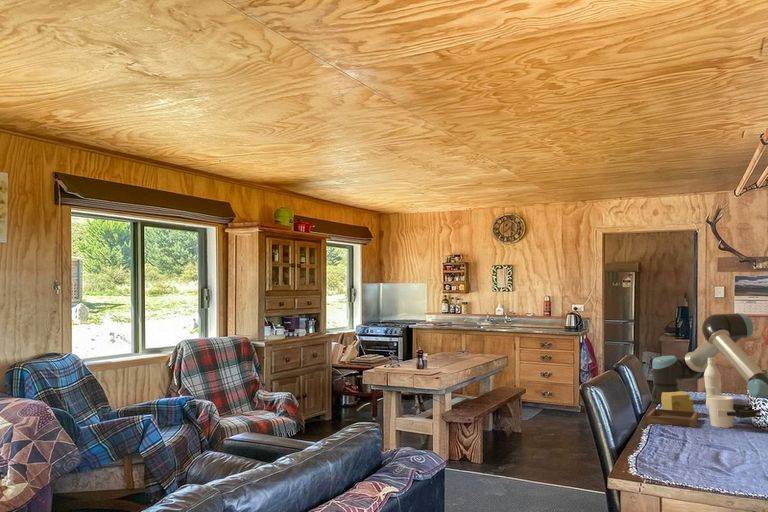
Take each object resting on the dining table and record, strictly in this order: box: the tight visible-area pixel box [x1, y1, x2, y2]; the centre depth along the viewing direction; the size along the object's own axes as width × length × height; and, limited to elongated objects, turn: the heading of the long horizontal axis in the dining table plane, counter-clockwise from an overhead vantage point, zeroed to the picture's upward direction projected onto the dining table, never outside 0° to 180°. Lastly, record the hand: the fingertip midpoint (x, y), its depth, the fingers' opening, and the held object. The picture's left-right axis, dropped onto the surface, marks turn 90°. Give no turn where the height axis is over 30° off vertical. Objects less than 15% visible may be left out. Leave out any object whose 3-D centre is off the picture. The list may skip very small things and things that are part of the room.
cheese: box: [661, 390, 696, 412], centre depth 275 cm, size 10×11×10 cm
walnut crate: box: [645, 408, 699, 429], centre depth 260 cm, size 18×18×4 cm
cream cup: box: [706, 395, 734, 429], centre depth 250 cm, size 10×10×12 cm
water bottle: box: [703, 358, 722, 410], centre depth 282 cm, size 7×7×25 cm
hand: (712, 410), depth 251 cm, fingers open, 13 cm apart
